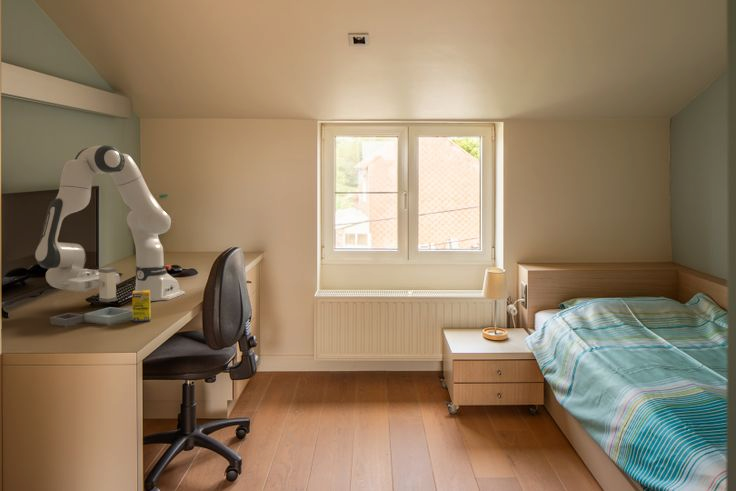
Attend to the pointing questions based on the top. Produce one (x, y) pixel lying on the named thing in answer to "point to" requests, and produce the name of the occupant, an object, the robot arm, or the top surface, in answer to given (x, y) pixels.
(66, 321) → the socket
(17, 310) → the top surface
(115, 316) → the tray
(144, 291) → the supplement box
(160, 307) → the top surface
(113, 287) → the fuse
